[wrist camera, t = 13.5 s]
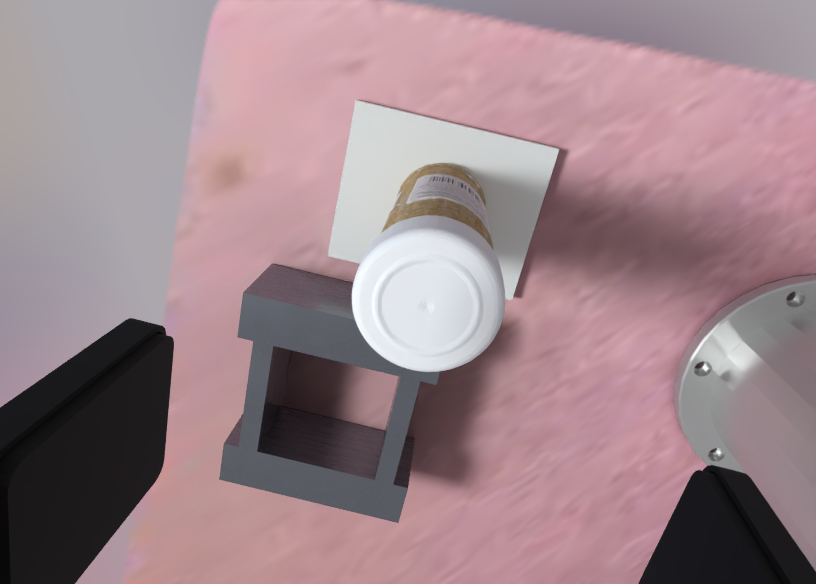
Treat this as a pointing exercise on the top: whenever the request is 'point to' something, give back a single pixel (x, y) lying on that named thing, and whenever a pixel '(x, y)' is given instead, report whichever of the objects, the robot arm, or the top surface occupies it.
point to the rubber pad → (428, 144)
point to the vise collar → (309, 433)
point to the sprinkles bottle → (431, 275)
